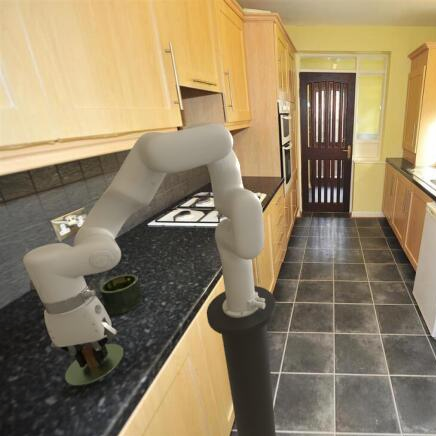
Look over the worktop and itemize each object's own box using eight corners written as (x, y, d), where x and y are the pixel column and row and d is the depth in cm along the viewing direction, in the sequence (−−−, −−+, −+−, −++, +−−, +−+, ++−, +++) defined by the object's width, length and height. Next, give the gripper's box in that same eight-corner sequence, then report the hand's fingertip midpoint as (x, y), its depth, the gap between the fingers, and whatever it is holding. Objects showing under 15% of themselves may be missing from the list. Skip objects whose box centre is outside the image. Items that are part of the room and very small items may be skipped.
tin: (149, 297, 95) (144, 277, 92) (123, 317, 86) (116, 295, 83) (127, 292, 98) (121, 272, 95) (99, 310, 88) (91, 289, 85)
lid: (134, 352, 69) (128, 334, 67) (90, 394, 59) (80, 374, 56) (102, 342, 72) (95, 325, 70) (54, 380, 62) (44, 361, 60)
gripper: (117, 283, 63) (137, 342, 70) (35, 294, 60) (65, 355, 67) (101, 303, 56) (125, 367, 63) (9, 317, 53) (45, 382, 60)
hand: (94, 360), depth 65 cm, fingers closed on lid, 3 cm apart
